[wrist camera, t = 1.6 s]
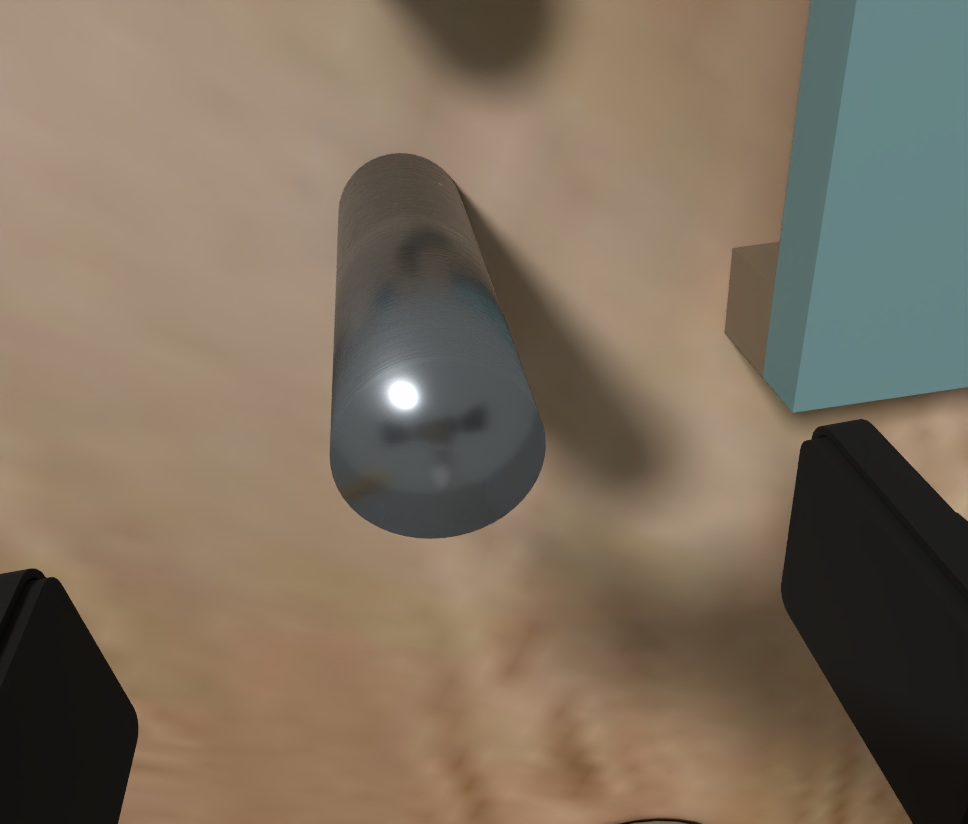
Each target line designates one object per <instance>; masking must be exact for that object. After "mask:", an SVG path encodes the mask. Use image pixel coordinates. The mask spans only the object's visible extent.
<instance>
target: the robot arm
mask: <svg viewBox="0 0 968 824" xmlns="http://www.w3.org/2000/svg"><path fill="white" fill-rule="evenodd" d="M781 593H782V598H783V603H784V605H785V608H786V611H787V612H788V614H789V616H790V618H791V620H792V621H793V623H794V625H795V626H796V628H797V630H798V631H799V633H800V635H801V636H802V638H803V640H804V641H805V643H806V645H807V646H808V648H809V650H810V652H811V653H812V655H813V657H814V658H815V660H816V662H817V663H818V665H819V667H820V668H821V670H822V672H823V673H824V675H825V677H826V678H827V680H828V682H829V683H830V685H831V687H832V688H833V690H834V692H835V694H836V695H837V697H838V699H839V700H840V702H841V704H842V705H843V707H844V709H845V710H846V712H847V714H848V715H849V717H850V719H851V720H852V722H853V724H854V725H855V727H856V729H857V730H858V732H859V734H860V735H861V737H862V739H863V741H864V742H865V744H866V746H867V747H868V749H869V751H870V752H871V754H872V756H873V757H874V759H875V761H876V762H877V764H878V766H879V767H880V769H881V771H882V772H883V774H884V776H885V777H886V779H887V781H888V783H889V784H890V786H891V788H892V789H893V791H894V793H895V794H896V796H897V798H898V799H899V801H900V803H901V804H902V806H903V808H904V809H905V811H906V813H907V814H908V816H909V818H910V819H911V821H912V823H913V824H968V521H967V520H966V519H964V518H963V517H962V516H961V515H960V514H958V513H956V512H955V511H954V510H953V509H952V508H951V507H950V506H949V505H948V504H947V503H946V502H945V501H944V500H943V499H942V497H941V496H940V495H939V494H938V493H937V492H936V491H935V490H934V489H933V488H932V487H931V486H930V485H929V484H928V483H927V482H926V481H925V480H924V478H923V477H922V476H921V475H920V474H919V473H918V472H917V471H916V470H915V469H914V468H913V467H912V466H911V465H910V464H909V463H908V462H907V461H906V459H905V458H904V457H903V456H902V455H901V454H900V453H899V452H898V451H897V450H896V449H895V448H894V447H893V446H892V445H891V444H890V443H889V442H888V440H887V439H886V438H885V437H884V436H883V435H882V434H881V433H880V432H879V431H878V430H877V429H876V428H875V427H874V426H873V425H872V424H871V423H870V422H868V421H867V420H863V419H859V420H853V421H847V422H842V423H836V424H831V425H825V426H820V427H818V428H816V430H815V431H814V432H813V435H812V439H811V440H807V441H804V442H803V444H802V445H801V449H800V455H799V462H798V469H797V476H796V483H795V490H794V498H793V505H792V512H791V519H790V526H789V533H788V540H787V547H786V554H785V562H784V569H783V576H782V583H781ZM137 739H138V719H137V715H136V712H135V709H134V707H133V706H132V704H131V702H130V700H129V699H128V697H127V695H126V694H125V692H124V690H123V688H122V687H121V685H120V683H119V682H118V680H117V678H116V676H115V675H114V673H113V671H112V670H111V668H110V666H109V664H108V663H107V661H106V659H105V658H104V656H103V654H102V653H101V651H100V649H99V647H98V646H97V644H96V642H95V641H94V639H93V637H92V635H91V634H90V632H89V630H88V629H87V627H86V625H85V623H84V622H83V620H82V618H81V617H80V615H79V613H78V611H77V610H76V608H75V606H74V605H73V603H72V601H71V599H70V598H69V596H68V594H67V593H66V591H65V589H64V587H63V586H62V584H61V583H60V582H59V580H58V579H56V578H54V577H49V578H46V577H45V576H44V574H43V573H42V572H41V571H39V570H37V569H26V570H20V571H15V572H9V573H4V574H0V824H118V821H119V817H120V812H121V808H122V804H123V799H124V795H125V791H126V787H127V782H128V778H129V774H130V769H131V765H132V761H133V757H134V752H135V748H136V744H137ZM631 824H687V823H682V822H674V821H650V822H638V823H631Z"/></svg>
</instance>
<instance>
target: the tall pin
mask: <svg viewBox="0 0 968 824" xmlns="http://www.w3.org/2000/svg"><path fill="white" fill-rule="evenodd" d="M545 448H546V444H545V432H544V427H543V423H542V420H541V418H540V415H539V412H538V409H537V407H536V404H535V401H534V398H533V395H532V393H531V390H530V387H529V384H528V382H527V379H526V376H525V373H524V371H523V368H522V365H521V362H520V359H519V357H518V354H517V351H516V348H515V346H514V343H513V340H512V337H511V335H510V332H509V329H508V326H507V324H506V321H505V318H504V315H503V312H502V310H501V307H500V304H499V301H498V299H497V296H496V293H495V290H494V288H493V285H492V282H491V279H490V276H489V274H488V271H487V268H486V265H485V263H484V260H483V257H482V254H481V252H480V249H479V246H478V243H477V241H476V238H475V235H474V232H473V229H472V227H471V224H470V221H469V218H468V216H467V213H466V210H465V207H464V205H463V202H462V199H461V196H460V194H459V191H458V189H457V187H456V185H455V183H454V182H453V180H452V179H451V178H450V176H449V175H448V174H447V173H446V172H445V171H444V170H443V169H442V168H441V167H439V166H438V165H437V164H435V163H433V162H432V161H430V160H428V159H425V158H423V157H420V156H417V155H412V154H402V153H397V154H389V155H385V156H381V157H378V158H376V159H373V160H371V161H370V162H368V163H366V164H365V165H363V166H362V167H361V168H359V169H358V170H357V171H356V172H355V173H354V174H353V176H352V177H351V178H350V180H349V181H348V183H347V184H346V186H345V188H344V190H343V193H342V196H341V199H340V204H339V217H338V245H337V272H336V300H335V327H334V354H333V382H332V409H331V437H330V465H331V470H332V475H333V478H334V481H335V483H336V486H337V488H338V490H339V492H340V493H341V495H342V497H343V498H344V499H345V501H346V502H347V503H348V504H349V506H350V507H351V508H352V509H353V510H354V511H356V512H357V513H358V514H359V515H360V516H361V517H363V518H364V519H366V520H367V521H369V522H370V523H372V524H374V525H376V526H378V527H379V528H382V529H384V530H387V531H389V532H392V533H396V534H399V535H403V536H409V537H415V538H430V539H431V538H446V537H453V536H458V535H462V534H466V533H470V532H473V531H475V530H478V529H481V528H483V527H485V526H487V525H489V524H492V523H494V522H495V521H497V520H498V519H500V518H502V517H503V516H505V515H506V514H507V513H509V512H510V511H511V510H512V509H514V508H515V507H516V506H517V505H518V504H519V503H520V502H521V501H522V500H523V499H524V498H525V496H526V495H527V494H528V493H529V491H530V490H531V488H532V487H533V485H534V483H535V482H536V480H537V478H538V476H539V473H540V471H541V468H542V465H543V461H544V456H545Z"/></svg>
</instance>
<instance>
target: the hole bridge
mask: <svg viewBox="0 0 968 824" xmlns="http://www.w3.org/2000/svg"><path fill="white" fill-rule="evenodd" d="M725 334H726V335H727V336H728V337H729V338H730V340H731V341H732V342H733V343H734V344H735V346H736V347H737V348H738V349H739V350H740V351H741V353H742V354H743V355H744V356H745V357H746V358H747V360H748V361H749V362H750V363H751V364H752V366H753V367H754V368H755V369H756V370H757V371H758V373H759V374H760V375H761V376H762V377H763V379H764V380H765V381H766V382H767V383H768V384H769V386H770V387H771V388H772V389H773V390H774V391H775V393H776V394H777V395H778V396H779V397H780V399H781V400H782V401H783V402H784V403H785V404H786V406H787V407H788V408H789V409H790V410H791V412H792V413H795V412H802V411H809V410H816V409H822V408H829V407H836V406H843V405H850V404H856V403H863V402H870V401H877V400H884V399H890V398H897V397H904V396H911V395H918V394H924V393H931V392H938V391H945V390H951V389H958V388H965V387H968V0H811V2H810V10H809V18H808V26H807V34H806V41H805V49H804V57H803V65H802V73H801V81H800V89H799V96H798V104H797V112H796V120H795V128H794V136H793V144H792V152H791V159H790V167H789V175H788V183H787V191H786V199H785V207H784V215H783V222H782V230H781V238H780V242H778V243H770V244H763V245H755V246H748V247H740V248H733V251H732V262H731V272H730V283H729V294H728V304H727V315H726V326H725Z"/></svg>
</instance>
